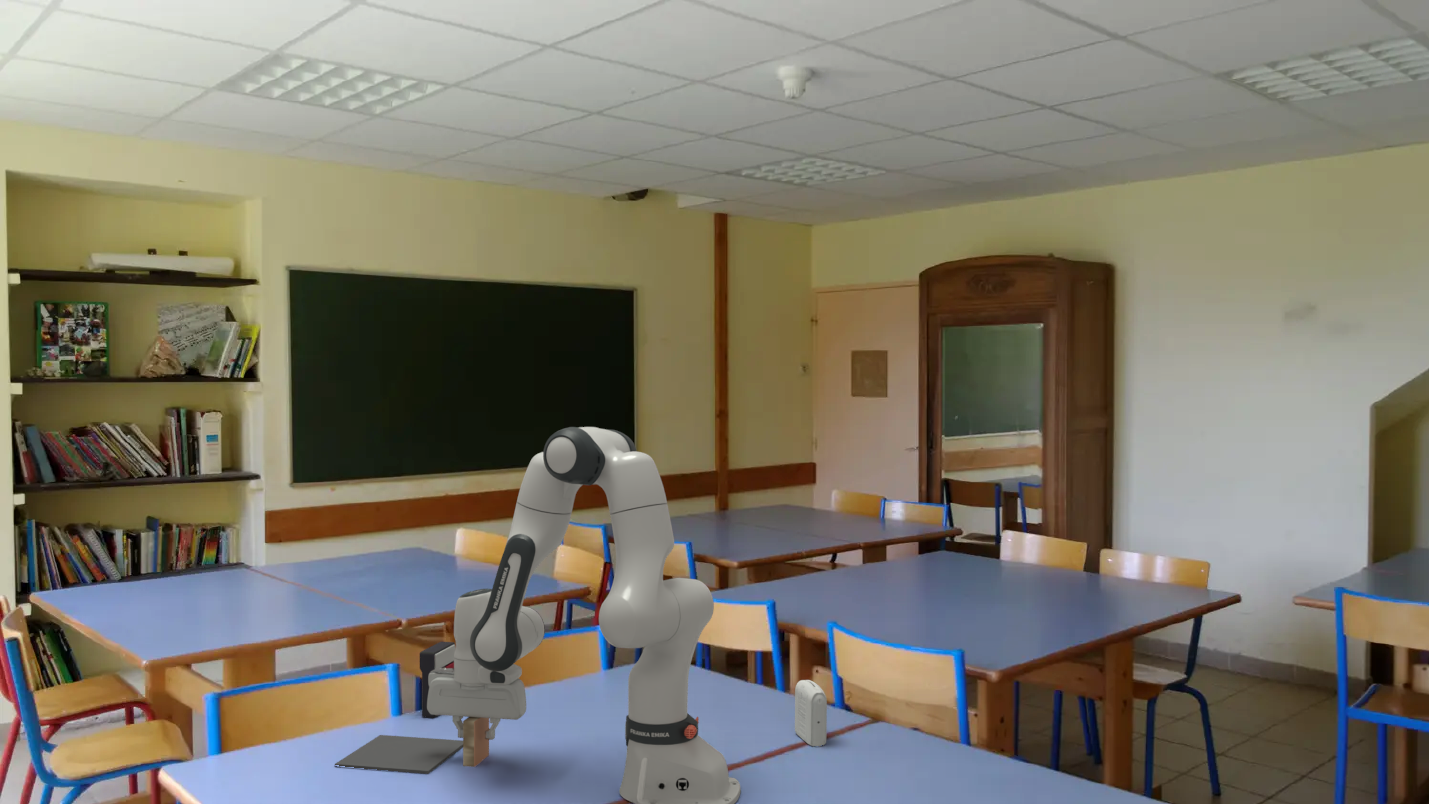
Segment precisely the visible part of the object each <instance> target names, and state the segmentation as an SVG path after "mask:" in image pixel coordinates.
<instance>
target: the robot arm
mask: <svg viewBox="0 0 1429 804" xmlns="http://www.w3.org/2000/svg"><path fill="white" fill-rule="evenodd" d="M592 485H593V486H594V485H597V486H599V487H600V488H602V490H603V491H604V493H605V495H606V500H607V505H608V509H609V510H608V512H609V516H610V522H611V527H612V535H613V542H614V548H615V568H614V569H615V570H614V578H613V580H612V585H611V588H610V590H609V593H608V594H607V596H606V597H605V599H604V601H603V602H602V603H601V606H600V608H599V611H598V625H599V629H600V632H601V633H602V636H603V637H604V639H605V640H606V641H607V643H608V644H610V646H613V647H615V648H620V649H621V648H622V649H641V648H643V650H642V652H641V655H640V657H639V659H638V661H636V663H635V664H634V665H633V667H632V668H631V670H630V671H629V673H628V674H629V675H628V680H627V681H628V682H627V685H628V689H627V690H628V691H627V692H628V693H627V695H628V698H627V699H628V701H627V703H628V705H627V706H628V707H627V708H628V711H627V712H628V713H627V714H626V716H625V722H624V723H625V726H624V737H625V745H626V756H625V757H626V758H625V765H624V771H623V776H622V779H621V780H622V781H621V784H620V787H619V791H618V792H619V795H620V796H621V797H622V798H623V799H624V800H627V801H629V802H631V803H633V804H736V802H737V801H738V800H739V798H740V796H741V791H742V790H741V789H742V788H741V784H740V782H739V780H738V779H737V778H735V777H731V776H730V774H729V770H728V764H727V760H726V758H725V756H724V755H723V753H722V752H721V751H719V750H717V749H716V748H715V747H714V746H713V745H711V744H710V743H708V742H707V741H706V740H705V739H703V738H702V737H701V736H700V735H699V723H700V722H699V721H700V720H699V716H697V717H695V718H694V717H693V716H692V715H691V714H689V713H688V702H689V701H688V698H689V697H688V695H689V692H688V691H689V673H690V668H691V663H692V660H693V657H694V652H695V651H696V647H697V644H698V641H699V639H700V636H701V634H702V633H703V630H704V629H705V627H706V626H707V625H708V623H710V621H711V619H712V618H713V614H714V611H715V606H714V605H715V604H714V603H715V602H714V597H713V595H712V592H711V591H710V589H709V587H708V586H707V584H705V583H704V582H703V581H701V580H699V579H695V578H686V577H674V578H669V579H665V580H664V568H665V564H666V560H667V558H668V556H669V555H670V554H671V553H672V551H673V549H674V546H675V537H674V532H673V527H672V521H671V515H670V509H669V505H668V501H667V496H666V492H665V488H664V484H663V481H662V477H661V476H660V473H659V469H658V467H657V465H656V462H655V461H654V459H653V458H652V456H651V455H650V454H648V453H646V452H643V451H642V452H641V451H637V447H636V445H635V443H634V442H633V440H632V439H631V438H630V437H629V436H628V435H626V434H625V433H623V432H621V431H618V430H615V429H607V428H606V429H605V428H599V427H596V426H584V427H583V426H579V427H576V426H569V427H565V428H562V429H560V430H557V431H556V432H554V433H553V434H551V435H550V436H549V438H548V439H547V440H546V442H545V445H544V447H543V451H541V452H539V453H537V454H535V455H534V456H533V457H532V458H531V460H530V462H529V464H528V465H527V467H526V471H525V473H524V476H523V479H522V481H521V484H520V488H519V491H518V496H517V500H516V504H515V509H514V513H513V516H512V517H513V518H512V520H511V526H510V529H509V533H508V536H507V540H506V544H505V547H504V550H503V553H502V556H501V559H500V562H499V564H498V567H497V571H496V574H495V579H494V581H493V585H492V588H480V589H474V590H470V591H468V592H465V593H463V594H461V595H460V596H459V597H458V599H457V600H456V603H455V609H454V621H453V636H454V639H455V640H454V641H455V652H454V668H435V670H432V671H431V672H430V673H429V676H428V684H429V692H428V700H427V710H428V711H429V713H430V714H432V715H438V716H450V717H451V716H452V717H451V718H452V723H453V725H454V726H455V728H456V729H457V738H460V739H461V738H462V739H463V720H462V719H464V717H467V718H468V717H479V718H489V724H491V726H490V727H489V729H487V730H486V731H485V739H487V740H489V741H493V740H494V739H495V737H496V729H497V727H498V726H499V724H500V722H501V720H512V721H514V720H515V721H517V720H519V719H520V718H522V717H523V716H524V715H525V713H527V696H526V695H527V694H526V687H525V684H524V682H523V680H521V679H520V677H521V676H522V674H523V673H522V672H523V669H522V667H521V666H520V665H517V664H516V663H517V661H518V660H521V659H522V658H523V657H525V656H526V655H528V654H529V653H531V652H533V651H534V650H535V649H537V648H538V647H539V646H540V645H541V644H542V642H543V640H544V639H545V638H544V637H545V634H546V633H545V631H546V629H545V622H544V620H543V618H542V616H541V614H540V613H539V612H538V611H536V610H535V609H534V608H532V607H530V606H524V605H523V604H524V600H525V598H526V594H527V590H528V587H529V583H530V580H531V578H532V576H533V575H534V573H535V571H536V570H537V568H538V567H539V566H540V564H542V562H544V560H545V559H547V557H548V556H549V555H551V553H553V552H554V551H555V550H556V549H557V548H558V547H559V546H560V545H561V544H562V542H563V540H564V538H565V536H566V533H567V532H568V531H567V530H568V528H569V525H570V521H571V517H572V512H573V508H574V503H575V499H576V496H577V495H576V494H577V492H578V491H579V489H580V488H581V487H582V486H592ZM433 672H435V673H433Z"/></svg>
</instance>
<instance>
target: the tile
mask: <svg viewBox="0 0 1429 804" xmlns="http://www.w3.org/2000/svg"><path fill="white" fill-rule="evenodd" d="M462 722H463V738H462V741H463V747H462V758H463V760H462V764H463V767H470V768H476V767H477V766H479V764H481V763H482V762H483V761H484V760H485V759H486V758H488V757H489V756H490V740H487V739H485V731H486V730H487V729H490V718H479V717H467V718H465V719H464V720H462Z"/></svg>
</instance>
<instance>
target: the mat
mask: <svg viewBox="0 0 1429 804" xmlns="http://www.w3.org/2000/svg"><path fill="white" fill-rule="evenodd" d="M461 749H463V739H462V740H459V739H446V738H445V739H443V738H431V737H418V736H415V737H413V736H402V735H400V736H399V735H388V734H387V735H386V734H379V735H378V736H376V737H374V738H373V739H372V740H370V741H368V742H366V743H365V744H363V745H362V746H360V747H359V748H357V749H355V750H354V751H352V752H351V753H349V754H348V755H346V756H345V757H344V758H342V759H341V760H339V761H336V763H334V766H335V765H339V766H345V767H354V768H364V769H363V770H368V769H377V770H376V771H381V770H388V771H387V772H394V771H398V773H407V772H409V773H410V774H420V775H421V774H423V775H429V774H430V773H432V772H433V771H434V770H436V769H437V768H439V767H440V766H441V765H442V764H443V763H445V762H446V761H447V760H448V759H450V758H451V757H452V756H454V755H455V754H456V753H458V752H459V751H460V750H461ZM354 768H353V769H354Z"/></svg>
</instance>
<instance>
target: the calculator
mask: <svg viewBox="0 0 1429 804" xmlns="http://www.w3.org/2000/svg"><path fill="white" fill-rule="evenodd" d="M455 649H456V642H453V641H439V642H436V643H435V644H433V645H432V646H429V647H428V648H425V649H423V650H422V651H420V652H419V670H420V671H421V684H422V685H421V716H422V718H425V719H427V718H428V719H434V718H437V717H438V716H439V715H432V714H430V713H429V711H428V710H427V700H428V692H429V684H428V676H429V673H430V672H431V671H432V670H435V668H454V652H455ZM433 673H435V672H433Z"/></svg>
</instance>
